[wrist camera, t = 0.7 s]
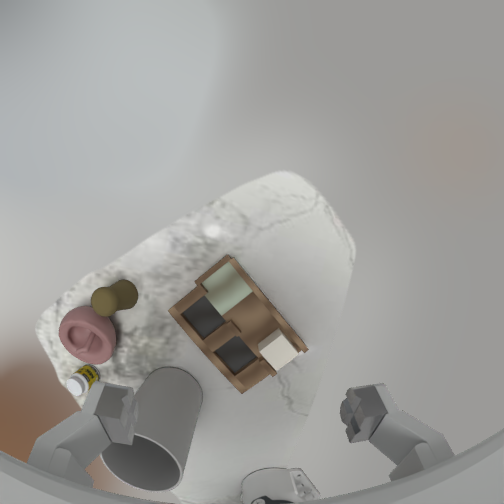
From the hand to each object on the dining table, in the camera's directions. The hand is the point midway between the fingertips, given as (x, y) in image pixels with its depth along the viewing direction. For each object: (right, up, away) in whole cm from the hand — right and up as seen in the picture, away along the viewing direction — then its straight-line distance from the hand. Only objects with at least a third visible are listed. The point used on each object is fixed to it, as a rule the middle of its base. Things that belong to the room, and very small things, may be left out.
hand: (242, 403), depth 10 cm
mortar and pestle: (-32, -11, +45) cm, 56 cm away
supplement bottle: (-36, -22, +45) cm, 61 cm away
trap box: (-3, -9, +46) cm, 47 cm away
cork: (-25, -3, +45) cm, 52 cm away
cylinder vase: (-16, -24, +45) cm, 54 cm away
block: (+5, -12, +44) cm, 46 cm away
